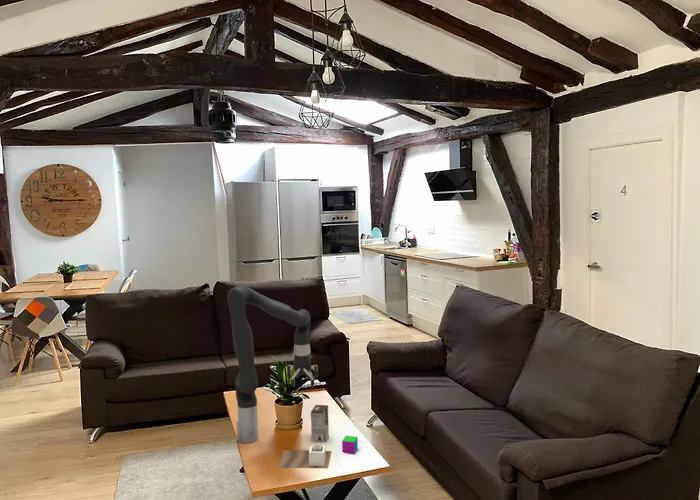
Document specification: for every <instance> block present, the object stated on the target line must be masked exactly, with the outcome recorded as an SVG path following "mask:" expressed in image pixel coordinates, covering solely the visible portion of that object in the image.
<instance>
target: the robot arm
mask: <svg viewBox="0 0 700 500" xmlns="http://www.w3.org/2000/svg"><path fill="white" fill-rule="evenodd" d="M226 297H227V299H226V300H227V304H228V308H229V313H230V318H231V319H230V322H231V333H232V343H233V349H234V352H235V357H236V360H237V362H238V367H239V373H238V374H237V375H236V377H235V383H234V384H235V398H236V402H237V422H236V432H237V433H236V436H237V437H236V438H237V442H238V443H239V442H240V443H241V444H251V443H255V442H256V441H258V440H259V429H258V428H259V426H258V424H259V422H258V398H257V396H256V395H257V394H256V392H255V391H257V388H258V386H259V379H258V374H257V370H256V365H255V350H254V337H253V335H254V334H253V330H252V327H251V326H250V323H249V322H248V319H247V316H246V305H251V306H254V307H257V308H259V309H261V310H262V311H263V312H266V313H267V314H268V315H270V316H271V317H272V316H273V317H275V318H278V319H280V320H282V321H283V320H284V321H285V322H286V323H288V324H290V325H291V326H294V327H296V328H295V331H294V335H293V339H294V340H293V342H294V345H293V359H294V361H293V365H291V364H288V365H287V367H286V368H287V369H286V370H287V372H286V373H287V374H286V378H287V379H290V382H291V383H290V385H291V387H292V388H295V387H296V380H295V379H296V378H295V377H297V375H298V376H307V377H309V378H310V388H311V389H312V388H314V386H315V380H316V379H318V377H319V370H318V364H314V365H312V364H311V344H310V331H311V329H310V328H311V322H312V321H311V314H310V312H309V311H308V310H307V309H304V308H303V309H302V308H301V309H300V310H295V309H293V308H292V307H291V306H290V305H288V304H285V303H283V302H280V301H278V300H275V299H272V298H269V297H267V296H265V295H264V294H261V293H259V292H257V291H255V290H254V289H252V288H250V287H248V286H247V285H244V284H239V285H236V286H234V287H232V288H230V289H229V291H228V292H227V295H226ZM292 370H294V373H293V374H292V375H291V372H292ZM311 370H313V372H314V374H313V373H312V371H311Z"/></svg>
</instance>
